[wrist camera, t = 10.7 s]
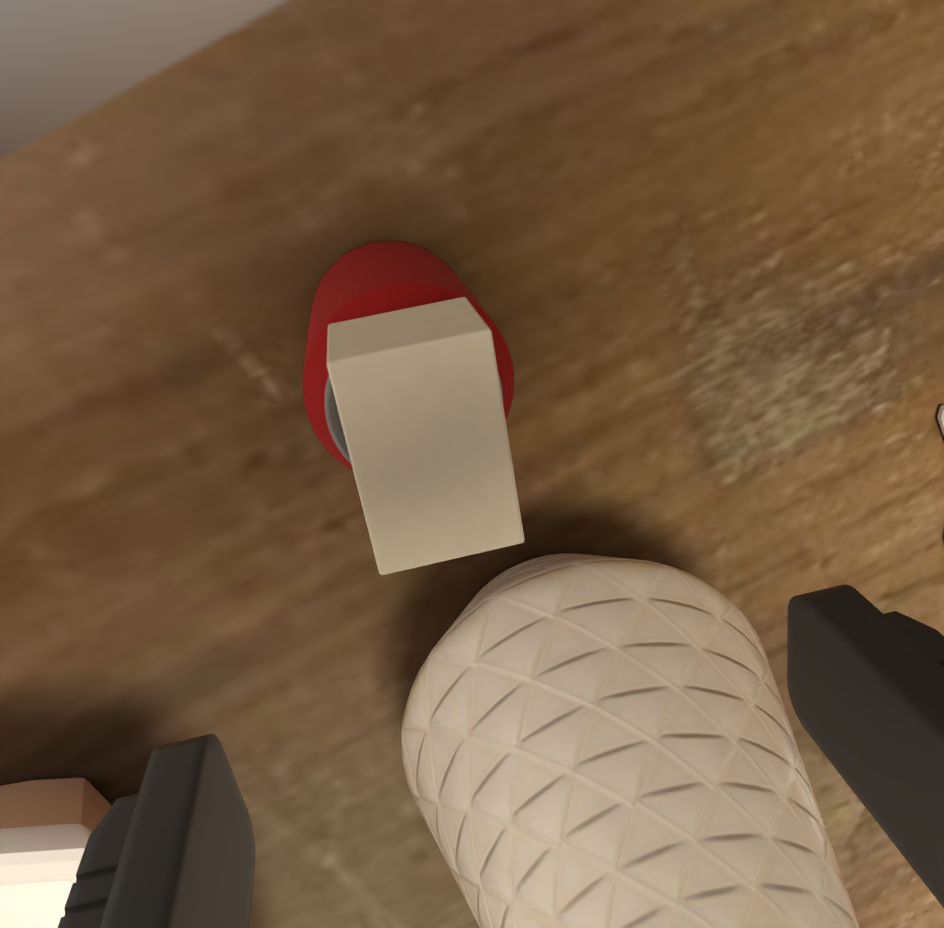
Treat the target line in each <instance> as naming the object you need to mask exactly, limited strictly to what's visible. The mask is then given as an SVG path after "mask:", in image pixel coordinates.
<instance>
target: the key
mask: <svg viewBox="0 0 944 928" xmlns="http://www.w3.org/2000/svg"><path fill="white" fill-rule="evenodd" d="M937 418H938V421H939V424H940V427H941V430H942V433H943V436H944V405H941V407H940V410H939V413H938V417H937Z"/></svg>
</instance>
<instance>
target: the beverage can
mask: <svg viewBox="0 0 944 928" xmlns="http://www.w3.org/2000/svg"><path fill="white" fill-rule="evenodd" d="M461 297H466V298H467V300H468V301H469V302H470V304H471V305H472V306H473V307H474V309H475V310H476V311H477V313H478V314H479V315H480V317H481V318H482V319H483V320H484V322H485V323H486V324H487V326H488V327H489V328H490V330H491V331H492V337H493V344H494V350H495V356H496V362H497V369H498V375H499V381H500V388H501V394H502V400H503V407H504V413H505V419H507V417H508V414H509V411H510V408H511V404H512V399H513V392H514V372H513V364H512V360H511V356H510V353H509V349H508V347H507V344H506V342H505V340H504V338H503V336H502V334H501V332H500V331H499V329H498V328H497V326H496V325H495V323H494V322H493V321H492V319H491V318H490V317H489V315H488V314H487V313H486V311H485V310H484V309H483V307H482V306H481V305H480V304H479V302H478V301H477V300H476V298H475V297H474V296H473V295H472V294H471V292H470V291H469V290H468V289H467V287H466V286H465V285H464V284H463V283H462V281H461V280H460V279H459V278H458V277H457V276H456V275H455V274H454V272H453V271H452V270H451V269H450V268H449V267H448V266H447V265H446V264H445V263H444V262H443V261H442V260H441V259H440V258H438V257H437V256H435V255H434V254H433V253H431V252H429V251H428V250H426V249H423V248H421V247H419V246H416V245H413V244H410V243H405V242H399V241H380V242H374V243H370V244H366V245H363V246H360V247H358V248H356V249H354V250H352V251H350V252H348V253H347V254H345V255H344V256H342V257H341V258H340V259H339V260H338V261H336V262H335V263H334V264H333V265H332V266H331V267H330V269H329V270H328V271H327V272H326V274H325V275H324V277H323V278H322V280H321V282H320V284H319V286H318V288H317V291H316V293H315V296H314V300H313V305H312V310H311V315H310V321H309V328H308V335H307V343H306V351H305V361H304V373H303V397H304V404H305V408H306V412H307V415H308V418H309V421H310V423H311V426H312V428H313V430H314V432H315V433H316V435H317V437H318V438H319V440H320V441H321V443H322V444H323V445H324V447H325V448H326V449H327V450H328V451H329V452H330V453H331V454H332V455H333V456H334V457H335V458H336V459H337V460H338V461H339V462H341V463H342V464H343V465H345V466H346V467H347V468H349V469H351V470H352V471H353V468H352V464H351V460H350V456H349V452H348V448H347V444H346V440H345V436H344V432H343V428H342V424H341V420H340V416H339V412H338V408H337V404H336V400H335V397H334V393H333V389H332V385H331V381H330V377H329V373H328V369H327V336H328V325H329V324H332V323H337V322H342V321H347V320H352V319H357V318H362V317H367V316H372V315H377V314H382V313H387V312H392V311H397V310H402V309H407V308H411V307H416V306H421V305H426V304H431V303H436V302H441V301H446V300H451V299H456V298H461Z"/></svg>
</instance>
